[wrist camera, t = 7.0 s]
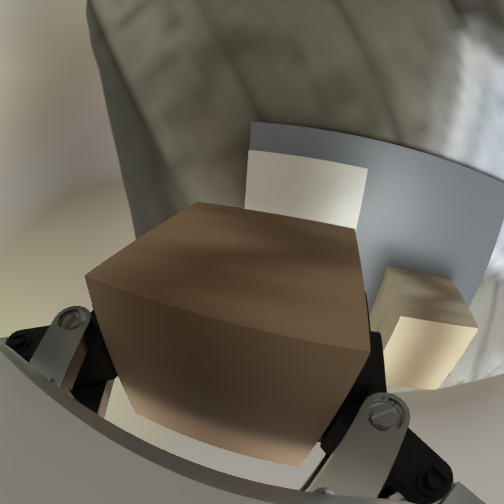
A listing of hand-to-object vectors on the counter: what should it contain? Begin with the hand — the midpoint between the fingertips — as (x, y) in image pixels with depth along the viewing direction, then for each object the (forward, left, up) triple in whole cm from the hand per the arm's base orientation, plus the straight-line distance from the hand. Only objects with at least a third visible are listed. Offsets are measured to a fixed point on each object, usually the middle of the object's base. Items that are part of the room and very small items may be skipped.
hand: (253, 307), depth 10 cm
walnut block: (0, 0, -2) cm, 2 cm away
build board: (-6, +1, -11) cm, 13 cm away
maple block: (-10, +5, -11) cm, 16 cm away
